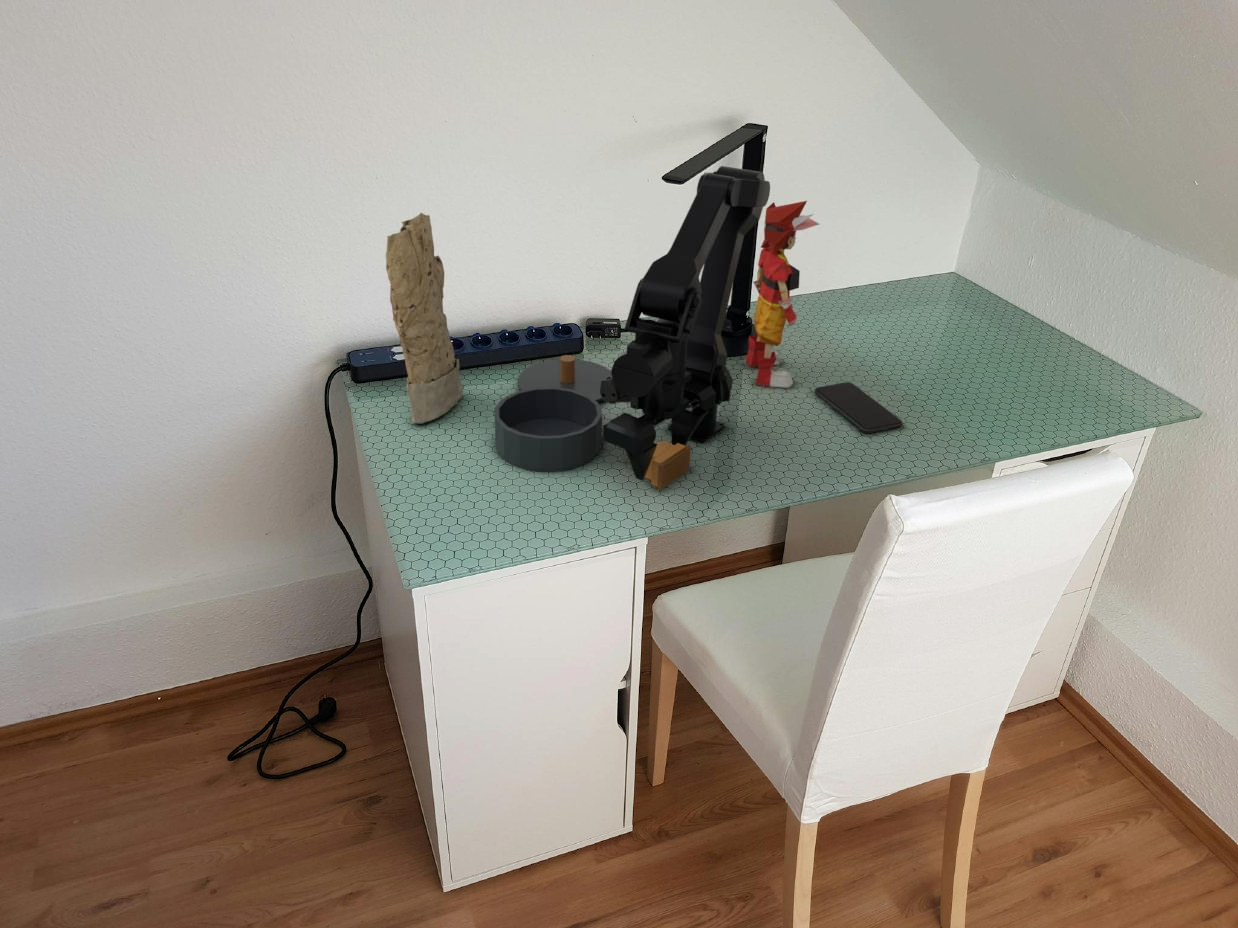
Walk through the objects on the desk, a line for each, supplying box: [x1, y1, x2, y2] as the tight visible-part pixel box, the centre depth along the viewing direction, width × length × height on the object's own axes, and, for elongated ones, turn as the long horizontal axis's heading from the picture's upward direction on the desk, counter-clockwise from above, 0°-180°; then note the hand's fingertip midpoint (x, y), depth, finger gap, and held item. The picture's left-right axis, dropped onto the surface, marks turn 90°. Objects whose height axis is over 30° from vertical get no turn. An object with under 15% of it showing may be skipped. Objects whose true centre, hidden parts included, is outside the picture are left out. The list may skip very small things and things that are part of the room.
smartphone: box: [814, 381, 904, 434], centre depth 156 cm, size 7×1×15 cm
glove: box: [385, 212, 464, 424], centre depth 147 cm, size 14×10×30 cm
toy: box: [744, 200, 820, 389], centre depth 159 cm, size 12×9×30 cm
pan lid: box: [517, 354, 612, 403], centre depth 159 cm, size 16×16×5 cm
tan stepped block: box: [627, 440, 692, 492], centre depth 138 cm, size 8×7×4 cm
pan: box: [493, 387, 603, 473], centre depth 143 cm, size 15×15×6 cm
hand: (658, 466), depth 138 cm, fingers open, 8 cm apart
